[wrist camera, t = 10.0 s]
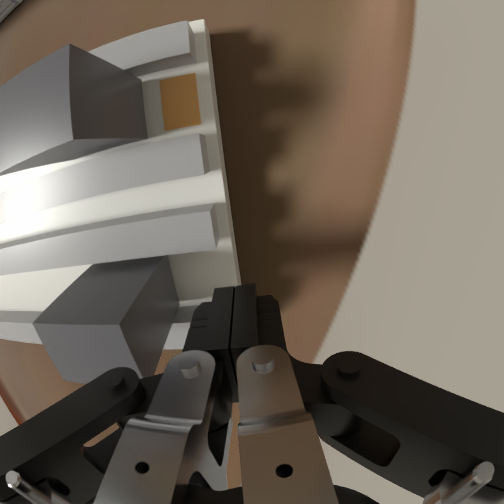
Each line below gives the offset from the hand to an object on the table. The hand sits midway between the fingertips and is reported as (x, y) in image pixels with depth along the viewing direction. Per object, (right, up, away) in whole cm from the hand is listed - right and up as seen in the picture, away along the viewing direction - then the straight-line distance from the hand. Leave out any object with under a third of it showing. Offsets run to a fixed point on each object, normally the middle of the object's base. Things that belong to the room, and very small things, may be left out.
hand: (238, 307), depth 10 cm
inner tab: (-6, +8, 0) cm, 10 cm away
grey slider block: (-5, 0, +3) cm, 6 cm away
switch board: (-12, +4, +4) cm, 13 cm away
